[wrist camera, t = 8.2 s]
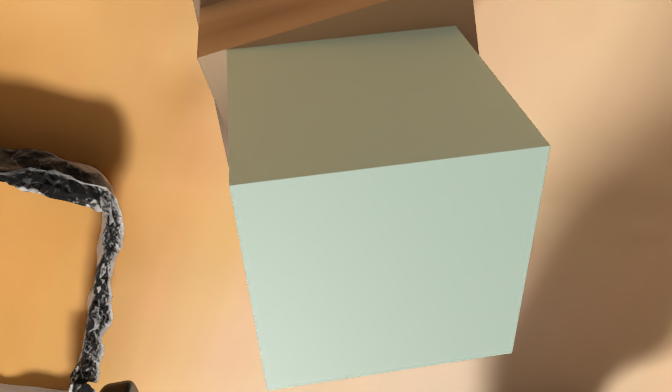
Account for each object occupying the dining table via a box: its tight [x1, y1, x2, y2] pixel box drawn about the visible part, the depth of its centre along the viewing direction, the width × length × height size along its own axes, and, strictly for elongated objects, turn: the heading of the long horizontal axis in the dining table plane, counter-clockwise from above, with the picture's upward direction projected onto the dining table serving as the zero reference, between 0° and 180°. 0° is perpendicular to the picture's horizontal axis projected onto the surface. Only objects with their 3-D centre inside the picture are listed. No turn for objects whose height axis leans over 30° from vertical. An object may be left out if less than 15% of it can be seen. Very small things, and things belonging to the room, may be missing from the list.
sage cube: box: [226, 26, 550, 391], centre depth 13 cm, size 5×5×5 cm
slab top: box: [197, 0, 479, 131], centre depth 16 cm, size 6×6×3 cm
